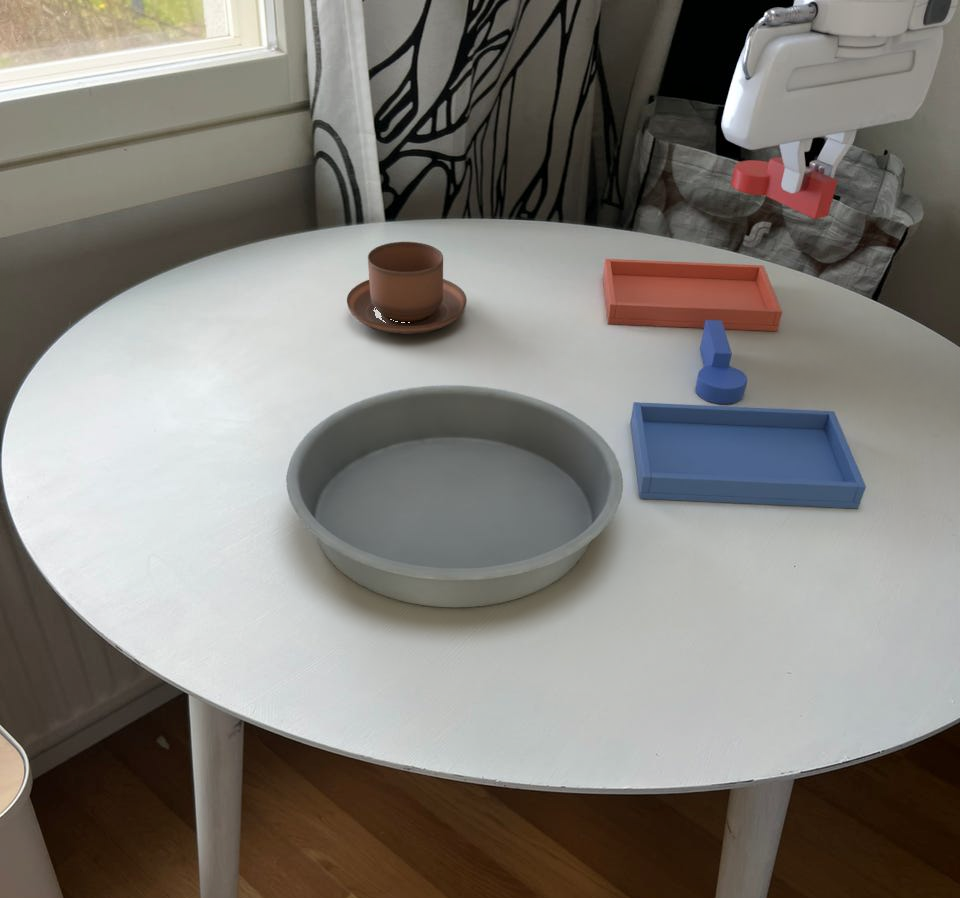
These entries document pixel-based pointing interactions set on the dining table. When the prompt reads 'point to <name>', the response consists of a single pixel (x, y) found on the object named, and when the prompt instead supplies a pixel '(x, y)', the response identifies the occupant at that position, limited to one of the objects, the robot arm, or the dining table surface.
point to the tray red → (689, 294)
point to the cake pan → (454, 493)
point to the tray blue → (743, 456)
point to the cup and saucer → (406, 290)
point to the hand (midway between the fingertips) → (805, 187)
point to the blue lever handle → (718, 368)
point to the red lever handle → (768, 182)
